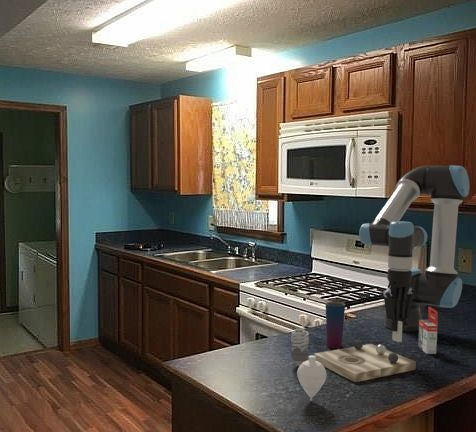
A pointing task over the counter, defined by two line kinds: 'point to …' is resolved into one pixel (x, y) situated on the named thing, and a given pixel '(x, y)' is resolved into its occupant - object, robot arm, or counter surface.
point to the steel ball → (381, 349)
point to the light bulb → (298, 352)
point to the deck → (363, 363)
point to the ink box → (428, 332)
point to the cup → (334, 323)
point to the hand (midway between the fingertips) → (396, 340)
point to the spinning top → (311, 376)
